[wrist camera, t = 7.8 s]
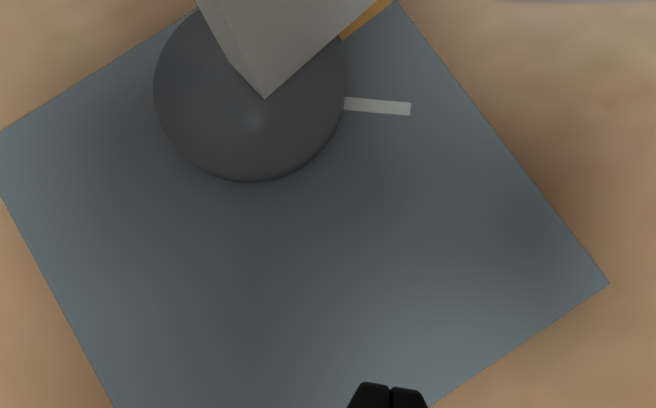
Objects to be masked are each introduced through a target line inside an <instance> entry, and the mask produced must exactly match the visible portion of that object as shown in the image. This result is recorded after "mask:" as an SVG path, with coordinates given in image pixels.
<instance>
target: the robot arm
mask: <svg viewBox="0 0 656 408" xmlns="http://www.w3.org/2000/svg"><path fill="white" fill-rule="evenodd" d="M347 408H428V406H427V404H426V402H425V400H424V398H423V396H422V394H421V393H420V392H419V391H417V390H414V389H408V388H402V387H392V388H391V389H389V387H388V386H387V385H384V384H378V383H372V382H362V383H361V384H360V385H359V386H358V388H357V390H356V392H355V393H354V395H353V397H352V399H351V400H350V402H349V404H348V406H347Z"/></svg>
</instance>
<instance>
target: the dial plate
mask: <svg viewBox="0 0 656 408" xmlns="http://www.w3.org/2000/svg"><path fill="white" fill-rule="evenodd" d="M197 10H199V7H198V8H196V9H195V10H193V11H192V12H190V13H188V14H187V15H185V16H184V17H182V18H180V19H179V20H177V21H176V22H174V23H172V24H171V25H169V26H168V27H166V28H164V29H163V30H161V31H160V32H158V33H157V34H155V35H153V36H152V37H150V38H149V39H147V40H145V41H144V42H142V43H141V44H139V45H137V46H136V47H134V48H133V49H131V50H130V51H128V52H126V53H125V54H123V55H122V56H120V57H118V58H117V59H115V60H114V61H112V62H110V63H109V64H107V65H106V66H104V67H102V68H101V69H99V70H98V71H96V72H95V73H93V74H91V75H90V76H88V77H87V78H85V79H83V80H82V81H80V82H79V83H77V84H75V85H74V86H72V87H71V88H69V89H67V90H66V91H64V92H63V93H61V94H60V95H58V96H56V97H55V98H53V99H52V100H50V101H48V102H47V103H45V104H44V105H42V106H40V107H39V108H37V109H36V110H34V111H33V112H31V113H29V114H28V115H26V116H25V117H23V118H21V119H20V120H18V121H17V122H15V123H13V124H12V125H10V126H9V127H7V128H5V129H4V130H2V131H1V132H0V196H1V198H2V199H3V201H4V203H5V205H6V207H7V209H8V211H9V212H10V214H11V216H12V218H13V220H14V222H15V224H16V225H17V227H18V229H19V231H20V233H21V235H22V237H23V239H24V240H25V242H26V244H27V246H28V248H29V250H30V252H31V253H32V255H33V257H34V259H35V261H36V263H37V265H38V266H39V268H40V270H41V272H42V274H43V276H44V278H45V280H46V281H47V283H48V285H49V287H50V289H51V291H52V293H53V294H54V296H55V298H56V300H57V302H58V304H59V306H60V307H61V309H62V311H63V313H64V315H65V317H66V319H67V321H68V322H69V324H70V326H71V328H72V330H73V332H74V334H75V335H76V337H77V339H78V341H79V343H80V345H81V347H82V348H83V350H84V352H85V354H86V356H87V358H88V360H89V362H90V363H91V365H92V367H93V369H94V371H95V373H96V375H97V376H98V378H99V380H100V382H101V384H102V386H103V388H104V389H105V391H106V393H107V395H108V397H109V399H110V401H111V403H112V404H113V406H114V408H347V406H348V404H349V402H350V400H351V399H352V397H353V395H354V393H355V392H356V390H357V388H358V386H359V385H360V384H361V383H362V382H372V383H378V384H384V385H387V386H388V387H389V389H391V388H392V387H402V388H408V389H414V390H417V391H419V392H420V393H421V394H422V396H423V398H424V400H425V402H426V404H427V406H428V407H429V406H431V405H432V404H434V403H435V402H436V401H438V400H439V399H441V398H442V397H444V396H445V395H447V394H448V393H450V392H451V391H453V390H454V389H456V388H457V387H458V386H460V385H461V384H463V383H464V382H466V381H467V380H469V379H470V378H472V377H473V376H475V375H476V374H478V373H479V372H481V371H482V370H483V369H485V368H486V367H488V366H489V365H491V364H492V363H494V362H495V361H497V360H498V359H500V358H501V357H503V356H504V355H505V354H507V353H508V352H510V351H511V350H513V349H514V348H516V347H517V346H519V345H520V344H522V343H523V342H525V341H526V340H528V339H529V338H530V337H532V336H533V335H535V334H536V333H538V332H539V331H541V330H542V329H544V328H545V327H547V326H548V325H550V324H551V323H553V322H554V321H555V320H557V319H558V318H560V317H561V316H563V315H564V314H566V313H567V312H569V311H570V310H572V309H573V308H575V307H576V306H577V305H579V304H580V303H582V302H583V301H585V300H586V299H588V298H589V297H591V296H592V295H594V294H595V293H597V292H598V291H600V290H601V289H602V288H604V287H605V286H607V285H608V284H610V282H609V281H608V279H607V278H606V277H605V275H604V274H603V273H602V271H601V270H600V269H599V268H598V266H597V265H596V264H595V262H594V261H593V260H592V258H591V257H590V256H589V254H588V253H587V252H586V250H585V249H584V248H583V246H582V245H581V244H580V242H579V241H578V240H577V239H576V237H575V236H574V235H573V233H572V232H571V231H570V229H569V228H568V227H567V225H566V224H565V223H564V221H563V220H562V219H561V217H560V216H559V215H558V213H557V212H556V211H555V210H554V208H553V207H552V206H551V204H550V203H549V202H548V200H547V199H546V198H545V196H544V195H543V194H542V192H541V191H540V190H539V188H538V187H537V186H536V184H535V183H534V182H533V181H532V179H531V178H530V177H529V175H528V174H527V173H526V171H525V170H524V169H523V167H522V166H521V165H520V163H519V162H518V161H517V159H516V158H515V157H514V155H513V154H512V153H511V152H510V150H509V149H508V148H507V146H506V145H505V144H504V142H503V141H502V140H501V138H500V137H499V136H498V134H497V133H496V132H495V130H494V129H493V128H492V126H491V125H490V124H489V123H488V121H487V120H486V119H485V117H484V116H483V115H482V113H481V112H480V111H479V109H478V108H477V107H476V105H475V104H474V103H473V101H472V100H471V99H470V97H469V96H468V95H467V94H466V92H465V91H464V90H463V88H462V87H461V86H460V84H459V83H458V82H457V80H456V79H455V78H454V76H453V75H452V74H451V72H450V71H449V70H448V68H447V67H446V66H445V65H444V63H443V62H442V61H441V59H440V58H439V57H438V55H437V54H436V53H435V51H434V50H433V49H432V47H431V46H430V45H429V43H428V42H427V41H426V39H425V38H424V37H423V36H422V34H421V33H420V32H419V30H418V29H417V28H416V26H415V25H414V24H413V22H412V21H411V20H410V18H409V17H408V16H407V14H406V13H405V12H404V10H403V9H402V8H401V7H400V5H399V4H398V3H397V1H396V0H377V1H375V2H374V3H373V4H372V5H371V6H370V7H369V8H367V9H366V10H365V11H364V12H363V13H362V14H361V15H360V16H358V17H357V18H356V19H355V20H354V21H353V22H352V23H351V24H349V25H348V26H347V27H346V28H345V29H344V30H343V31H342V32H340V33H339V34H338V35H337V36H336V37H335V38H334V39H333V40H334V42H335V44H336V46H337V48H338V51H339V54H340V57H341V61H342V67H343V75H344V85H345V98H344V107H343V111H342V115H341V119H340V121H339V124H338V126H337V129H336V131H335V132H334V134H333V136H332V138H331V140H330V141H329V142H328V144H327V145H326V146H325V148H324V149H323V150H322V151H321V152H320V153H319V154H318V155H317V156H316V157H315V158H314V159H313V160H312V161H310V162H309V163H308V164H307V165H305V166H304V167H302V168H300V169H299V170H297V171H296V172H294V173H291V174H289V175H287V176H285V177H282V178H279V179H275V180H272V181H266V182H260V183H241V182H233V181H229V180H225V179H221V178H219V177H216V176H213V175H211V174H209V173H208V172H206V171H204V170H202V169H201V168H199V167H198V166H197V165H195V164H194V163H193V162H191V161H190V160H189V159H188V158H187V157H186V156H184V155H183V154H182V153H181V152H180V151H179V150H178V149H177V148H176V147H175V146H174V145H173V144H172V142H171V141H170V140H169V138H168V137H167V136H166V134H165V132H164V130H163V129H162V127H161V125H160V122H159V120H158V117H157V114H156V110H155V106H154V99H153V79H154V73H155V68H156V65H157V62H158V58H159V56H160V54H161V51H162V49H163V47H164V45H165V44H166V42H167V40H168V39H169V37H170V36H171V35H172V33H173V32H174V31H175V30H176V28H177V27H178V26H179V25H180V24H181V23H182V22H183V21H184V20H185V19H186V18H188V17H189V16H190V15H192V14H193V13H194V12H195V11H197Z"/></svg>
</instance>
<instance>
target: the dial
mask: <svg viewBox="0 0 656 408" xmlns="http://www.w3.org/2000/svg"><path fill="white" fill-rule="evenodd" d="M375 1H377V0H195V2H196V4H197V5H198V7H199V10H197V11H195V12H194V13H193V14H192V15H190V16H189V17H188V18H186V19H185V20H184V21H183V22H182V23H181V24H180V25H179V26H178V27H177V28H176V30H175V31H174V32H173V33H172V35H171V36H170V37H169V39H168V40H167V42H166V44H165V45H164V47H163V49H162V51H161V54H160V56H159V58H158V62H157V65H156V68H155V73H154V79H153V99H154V106H155V110H156V114H157V117H158V120H159V122H160V125H161V127H162V129H163V130H164V132H165V134H166V136H167V137H168V138H169V140H170V141H171V142H172V144H173V145H174V146H175V147H176V148H177V149H178V150H179V151H180V152H181V153H182V154H183V155H184V156H186V157H187V158H188V159H189V160H190V161H191V162H193V163H194V164H195V165H197V166H198V167H199V168H201V169H202V170H204V171H206V172H208V173H209V174H211V175H213V176H216V177H219V178H221V179H225V180H229V181H233V182H241V183H260V182H266V181H272V180H275V179H279V178H282V177H285V176H287V175H289V174H291V173H294V172H296V171H297V170H299V169H300V168H302V167H304V166H305V165H307V164H308V163H309V162H310V161H312V160H313V159H314V158H315V157H316V156H317V155H318V154H319V153H320V152H321V151H322V150H323V149H324V148H325V146H326V145H327V144H328V142H329V141H330V140H331V138H332V136H333V134H334V132H335V131H336V129H337V126H338V124H339V121H340V119H341V115H342V111H343V107H344V98H345V85H344V75H343V67H342V61H341V57H340V54H339V51H338V48H337V46H336V44H335V42H334V40H333V39H334V38H335V37H336V36H337V35H338V34H339V33H340V32H342V31H343V30H344V29H345V28H346V27H347V26H348V25H349V24H351V23H352V22H353V21H354V20H355V19H356V18H357V17H358V16H360V15H361V14H362V13H363V12H364V11H365V10H366V9H367V8H369V7H370V6H371V5H372V4H373V3H374V2H375Z"/></svg>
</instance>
